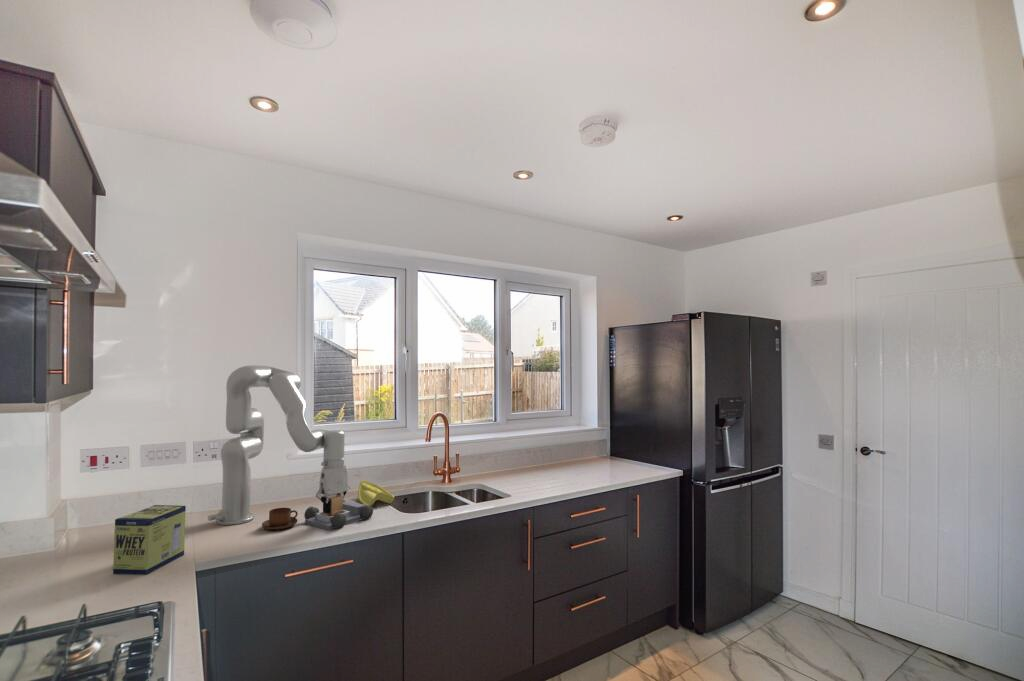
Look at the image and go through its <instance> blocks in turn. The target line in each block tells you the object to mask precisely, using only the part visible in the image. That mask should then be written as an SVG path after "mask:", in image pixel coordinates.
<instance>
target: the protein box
mask: <svg viewBox="0 0 1024 681" xmlns="http://www.w3.org/2000/svg"><path fill="white" fill-rule="evenodd" d="M186 509H187V508H186V505H169V504H168V505H167V504H165V505H164V504H163V505H161V504H154V505H152V506H149V507H145V508H143V509H140V510H137V511H134V512H133V513H129V514H128V515H127V514H126V515H123V516H122V517H117V518H116V519H114V539H113V540H114V543H113V565H112V566H113V567H112V568H113V569H112V574H113V575H116V574H117V575H145V576H147V575H149V574H150V573H152V572H154V571H157V570H158V569H160V568H162V567H164V566H165V565H168V564H170V563H172V562H174V561H176V560H177V559H179V558H181V557H183V556H185V540H186V539H185V533H186Z"/></svg>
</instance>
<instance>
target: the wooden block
mask: <svg viewBox="0 0 1024 681" xmlns="http://www.w3.org/2000/svg"><path fill="white" fill-rule="evenodd" d="M343 500H344V499H343V496H342V495H337V494H334V495H330V499H329V502H328V503H330V513H329V514H326V513H323V515H327V516H334V515H335V514H337V513H342V509H343Z"/></svg>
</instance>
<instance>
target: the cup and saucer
mask: <svg viewBox="0 0 1024 681" xmlns="http://www.w3.org/2000/svg"><path fill="white" fill-rule="evenodd" d="M292 513H295V515H294V516H292ZM298 515H299V514H298V511H297V510H292V509H291V508H290V507H277V508H273V509H270V510H269V514H268V519H266V520H264V521H263V522H262V523H261V526H262V528H264V529H266V530H270V531H279V530H284V529H288V528H291V527H293V526H295V525H296V524H297V523H298V519H297V516H298Z"/></svg>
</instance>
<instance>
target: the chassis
mask: <svg viewBox="0 0 1024 681" xmlns="http://www.w3.org/2000/svg"><path fill="white" fill-rule="evenodd" d="M373 514H374V508H373V505H372V506H370V505H364V504H363V503H360V502H359V503H358V502H354V501H351V500H350V501H349V500H344V499H343V509H342V513H337V514H335V515H334V516H327V515H323V510H322V511H320V509H319V508H318V507H316V506H309V507H307V508H306V509H305V511H304V515H303V516H304V524H306V525H308V526H313V527H316V528H320V529H323V530H327V531H331V530H334V529H342V528H343V527H344V526H347V525H349V524H352V523H355V522H359V521H361V520H369V519H371V518H372V516H373Z"/></svg>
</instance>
